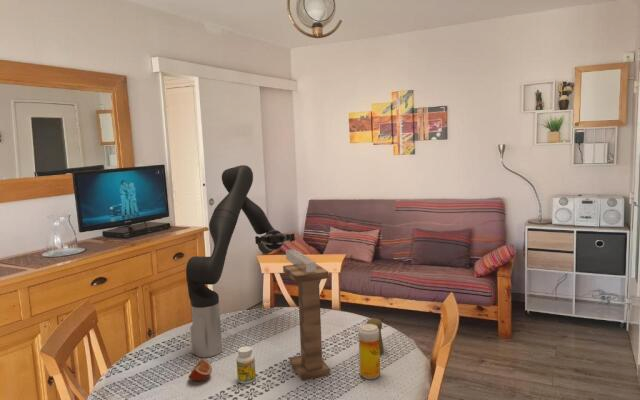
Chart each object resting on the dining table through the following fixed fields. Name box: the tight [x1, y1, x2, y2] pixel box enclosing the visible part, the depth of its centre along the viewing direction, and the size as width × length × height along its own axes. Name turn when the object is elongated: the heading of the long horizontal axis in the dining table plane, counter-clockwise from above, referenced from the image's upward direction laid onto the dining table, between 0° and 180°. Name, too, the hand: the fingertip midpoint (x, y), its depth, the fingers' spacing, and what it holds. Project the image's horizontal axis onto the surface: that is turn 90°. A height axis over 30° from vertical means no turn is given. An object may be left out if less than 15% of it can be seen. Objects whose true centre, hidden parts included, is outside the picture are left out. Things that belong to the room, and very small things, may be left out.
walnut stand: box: [282, 263, 331, 382], centre depth 145 cm, size 13×10×32 cm
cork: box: [365, 318, 385, 356], centre depth 156 cm, size 6×6×11 cm
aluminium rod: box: [285, 248, 317, 274], centre depth 147 cm, size 20×3×3 cm, turn 21°
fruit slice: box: [188, 357, 213, 382], centre depth 143 cm, size 8×7×5 cm
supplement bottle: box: [235, 345, 257, 385], centre depth 141 cm, size 5×5×10 cm
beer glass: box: [358, 323, 381, 380], centre depth 140 cm, size 6×6×15 cm
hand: (276, 237), depth 166 cm, fingers open, 8 cm apart
